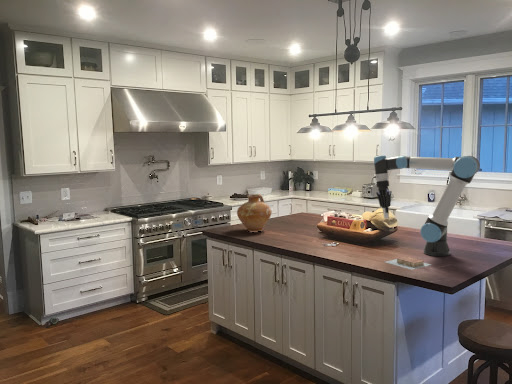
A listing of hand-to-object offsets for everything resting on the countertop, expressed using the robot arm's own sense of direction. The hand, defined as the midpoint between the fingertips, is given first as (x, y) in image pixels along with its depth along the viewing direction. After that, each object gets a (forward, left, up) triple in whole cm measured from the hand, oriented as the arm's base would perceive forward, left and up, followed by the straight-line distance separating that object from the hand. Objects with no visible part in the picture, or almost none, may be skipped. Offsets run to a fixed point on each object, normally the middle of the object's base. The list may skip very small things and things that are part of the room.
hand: (386, 218), depth 279 cm
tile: (+2, +22, -21) cm, 30 cm away
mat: (0, +25, -23) cm, 34 cm away
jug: (+64, -98, -23) cm, 119 cm away
